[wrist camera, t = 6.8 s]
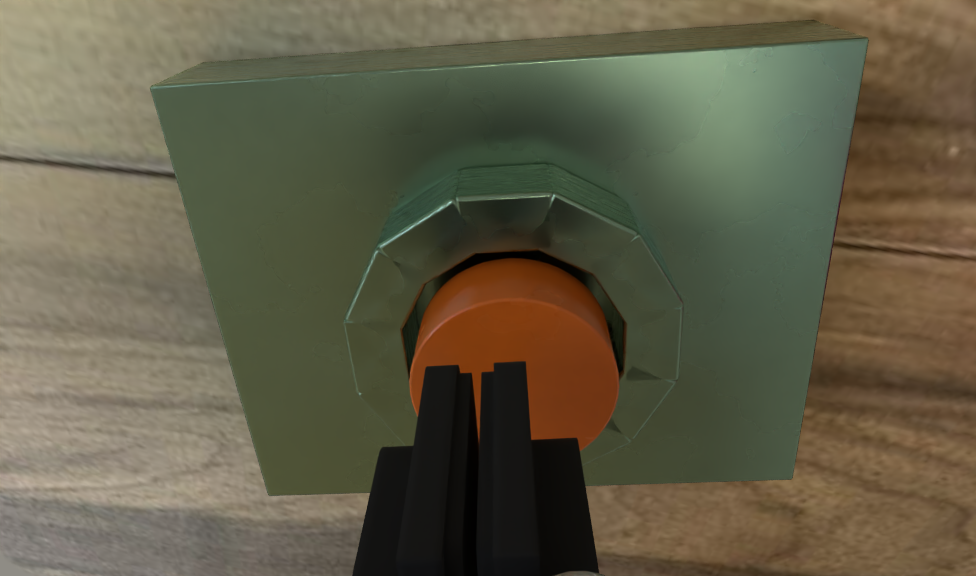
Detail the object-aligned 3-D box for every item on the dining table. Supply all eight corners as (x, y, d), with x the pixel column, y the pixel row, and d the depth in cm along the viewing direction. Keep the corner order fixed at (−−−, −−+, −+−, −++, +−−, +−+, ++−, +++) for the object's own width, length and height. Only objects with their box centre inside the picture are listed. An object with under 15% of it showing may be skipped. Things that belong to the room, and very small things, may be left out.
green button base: (295, 432, 21) (245, 549, 17) (201, 62, 16) (100, 106, 12) (760, 415, 21) (820, 533, 17) (815, 19, 15) (920, 52, 11)
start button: (430, 420, 16) (421, 474, 14) (408, 262, 14) (395, 304, 12) (607, 414, 16) (618, 468, 14) (609, 251, 14) (621, 293, 12)
